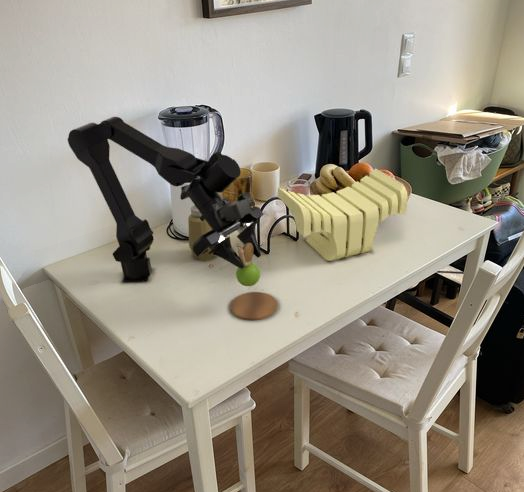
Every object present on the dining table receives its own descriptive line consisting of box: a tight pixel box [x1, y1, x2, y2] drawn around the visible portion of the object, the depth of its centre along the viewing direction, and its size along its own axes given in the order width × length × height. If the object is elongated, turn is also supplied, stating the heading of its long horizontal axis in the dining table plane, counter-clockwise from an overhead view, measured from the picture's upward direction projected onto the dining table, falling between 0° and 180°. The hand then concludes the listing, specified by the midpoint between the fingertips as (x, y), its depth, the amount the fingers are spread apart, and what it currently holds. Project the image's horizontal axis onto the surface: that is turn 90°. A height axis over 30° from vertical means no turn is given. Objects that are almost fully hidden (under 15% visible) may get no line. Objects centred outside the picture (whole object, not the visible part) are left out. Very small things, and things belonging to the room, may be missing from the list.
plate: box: [230, 291, 278, 321], centre depth 122 cm, size 11×11×1 cm
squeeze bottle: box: [187, 204, 216, 261], centre depth 139 cm, size 8×8×18 cm
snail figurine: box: [235, 243, 261, 287], centre depth 115 cm, size 5×6×12 cm
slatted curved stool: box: [277, 168, 409, 262], centre depth 140 cm, size 30×16×18 cm, turn 112°
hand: (251, 262), depth 114 cm, fingers closed on snail figurine, 5 cm apart
